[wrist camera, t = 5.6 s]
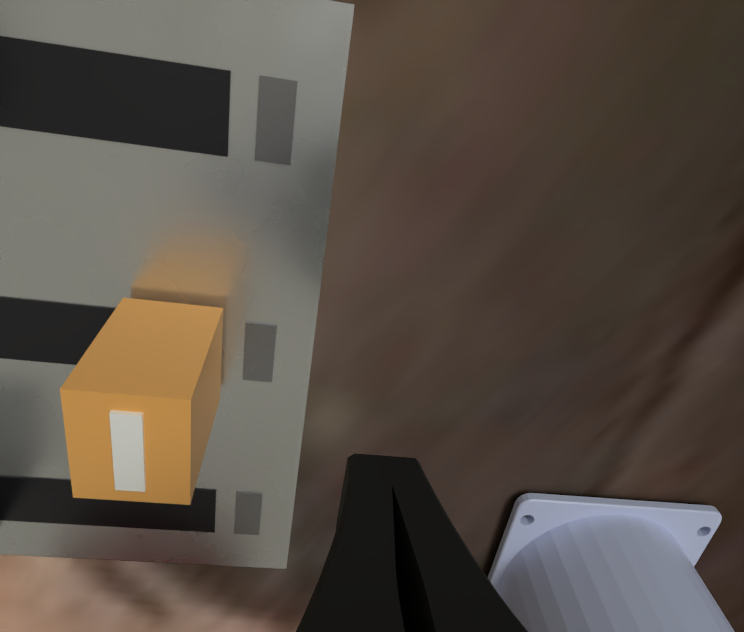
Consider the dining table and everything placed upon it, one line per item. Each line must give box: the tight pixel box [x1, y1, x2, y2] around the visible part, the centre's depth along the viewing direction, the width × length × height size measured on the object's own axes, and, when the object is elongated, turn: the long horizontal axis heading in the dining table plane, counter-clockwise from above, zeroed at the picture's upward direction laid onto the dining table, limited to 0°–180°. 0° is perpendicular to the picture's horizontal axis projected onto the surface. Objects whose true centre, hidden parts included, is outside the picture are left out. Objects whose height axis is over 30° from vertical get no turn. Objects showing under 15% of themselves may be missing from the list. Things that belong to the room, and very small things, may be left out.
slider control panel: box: [0, 0, 354, 569], centre depth 14 cm, size 17×14×6 cm
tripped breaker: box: [60, 298, 223, 505], centre depth 13 cm, size 3×2×4 cm
